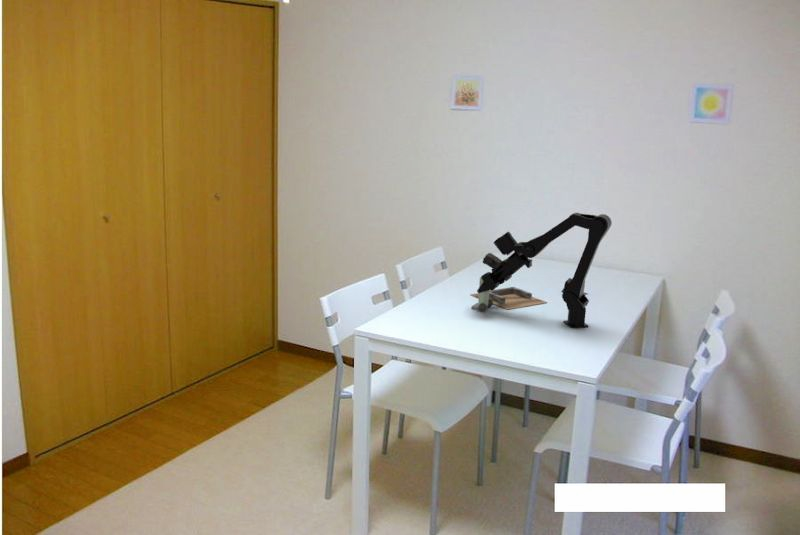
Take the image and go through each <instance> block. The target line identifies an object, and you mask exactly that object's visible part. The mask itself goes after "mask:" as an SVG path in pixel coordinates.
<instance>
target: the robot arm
mask: <svg viewBox="0 0 800 535" xmlns="http://www.w3.org/2000/svg"><path fill="white" fill-rule="evenodd" d="M612 223H613V222H612V219H611V218H610V216H609V215H607V214H603V213H601V214H599V215H595V214H589V213H588V214H586V213H580V212H573V213H571V214H570V215H569V216H568V217H567V218H566V219H564V220H562V221H561V222H560V223H558V224H557V225H555V226H554V227H552V228H551V229H549V230H547V231H546V232H545V233H544V234H541V235H539V236H537V237H534V238H532V239H529V240H528V241H521V242H517V241H516V239H515V238H514V236H513V235H512V233H511V232H510V231H507V232H505V233H504V234H503V235H501V236H499V237H498V238H496V239H495V240H494V241H493V245H494V246H495V247H496V248H497V249H498V251H499V252H500V253H501V255H503V256H508V257H507V258H506V259H504V260H501V259H500V258H499V257H498V256H496V255H495V254H493V253H491V252H488V253H486V254H485V256H484V257H483V258H482V259H483V260H482V263H483V264H484V265H486V266H488V267H489V268H491V269H490V270H491V272H490V271H487V272H485V273H484V274H482V275H483V276H482V275H481V276H482V277H481V276H480V277H481V279H482V280H483V281H484V282H483V283H482V284H481V286H480V287H478V288H477V289H476V292H477V293H481V292H485V291H490V290H496V289H497V288H498V287H499V286H500V285H502V284H504V283H505V282H507V281H509V280H511V278H512V277H513V275H514V274H515V273H516V272H518V271H519V270H521V268H523V267H524V266H525V267H527V269H530V267H531V268H532V266H533V258H535V257H536V256H538V255H540V253H542V251H544V249H546V248H547V247H548V245H550V244H551V243H552V242H553V241H554V240H556V239H557V238H559V237H561V236H562V235H563V234H565V233H567V232H568V231H570V230H571V229H573V228H574V227H578V228H582V229H586V230H588V234H587V241H586V243H585V246H584V250H582V251H583V252H582V254H581V257H580V259H579V262H578V264H577V267H576V269H575V272H574V275H573V277H569V278H568V279H566V280H565V283H564V285H563V289H562V290H561V293H562V294H561V295H562V296H561V298H562V300H563V302H564V303H565V304H566V307H567V308H566V309H567V310H568V312H567V320H566V319H565V320H563V321H562V322H563V323H564V324H566V325H567V326H569V327H570V328H589V325H588V324H586V322H585V321H586V312H587V308H586V307H587V306H588V304H589V302H590V300H589V299H588V297H587V296H586V295H584V294H583V292H584V293H585V284H586V279H587V276H588V273H589V270H590V268H591V265H592V263H593V261H594V259H595V256H596V253H597V251H598V248H599V245H600V243H601V242H602V240H603V239H604V238H605V236H606V235H607V233H608V232H609V230H610V228H611V227H612Z"/></svg>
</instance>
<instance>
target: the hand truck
mask: <svg viewBox="0 0 800 535" xmlns="http://www.w3.org/2000/svg"><path fill="white" fill-rule="evenodd" d="M483 275H484V274H482V275H481V276H480V277H479V283H478V285H479V287H480V286H481V284H482V283H483V282H484V281H483V280H482V279H481V277H482V276H483ZM479 287H478V288H479ZM489 291H490V290H489ZM489 291H485V292H481V293H479V298H477V300H478V302H476V303H474V304H473V305H472V306H471V310H473V311H474V310H475V311H480V312H483V313H484V312H486V311H487V310H488V308H491V307H492V306H493V305H494V304H493V301H492V300H491V299H489Z"/></svg>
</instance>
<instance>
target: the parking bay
mask: <svg viewBox="0 0 800 535" xmlns="http://www.w3.org/2000/svg"><path fill="white" fill-rule="evenodd" d="M470 296H471V297H475V298H476V299H479V293H478V292H477V293H470ZM489 299H491V300H492V301H493V305H494V306H496V307H499V308H501V309H504V310H506V311H510V310H516V309H521V308H525V307H526V308H527V307H532V306H538V305H543V304H547V303H548V301H545V300H541V299H539V298H537V297H534V296H533V293H532V292H529V291H526V290H523V289H522V288H521V289H520V288H519V287H516V286H511V287H504V288H498V289H497V288H496V289H494V290H489Z"/></svg>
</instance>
